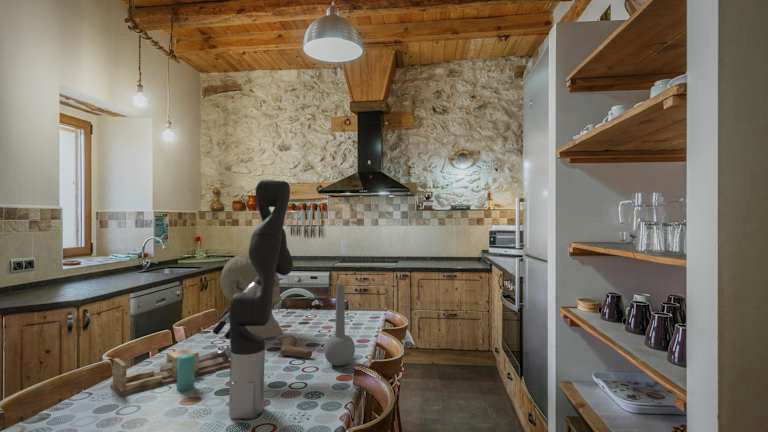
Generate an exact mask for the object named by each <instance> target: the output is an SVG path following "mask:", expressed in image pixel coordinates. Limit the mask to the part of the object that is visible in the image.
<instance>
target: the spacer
mask: <svg viewBox="0 0 768 432" xmlns="http://www.w3.org/2000/svg"><path fill="white" fill-rule="evenodd" d="M194 371H195V355H194V354H184V355H180V356H178V361H177V382H176V391H179V392H186V391H190V390H192V389H194V388H195V377H194Z"/></svg>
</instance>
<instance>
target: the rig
mask: <svg viewBox="0 0 768 432" xmlns="http://www.w3.org/2000/svg"><path fill="white" fill-rule="evenodd" d="M199 353H200V352H198V351H197V350H194V349H192V348H191V347H190V348H184V349H180V350H175V351H172V352H167V353H166V362H165V364H167V363H171V362H172V370H169V371H165V372H160V370H159V371H156V372H155V370H154V369H150V370H147V371H143V372H139V373H134V374H130V375H127V368H128V367H127V365H128V364H127V363H125V362H124V361H122V360H121V359H120V358H119V357H115V358H113V366H112V367H113V368H112V382H110V384H109V385H110V386H109V387H110V388H111V389H112V390H113V391H114V392H115V393H116V394H117V395H118V396H120V397H125V396H129V395H132V394H135V393H139V392H143V391H147V390H150V389H154V388H158V387H163V386H166V385H169V384H173V383H177V361H178V356H180V355H184V354H194V355H195V371H194V378H195V377H198V376H202V375H206V374H209V373H213V372H217V371H220V370H225V369H228V368H229V369H230V359H228V360H223V359H222V358H217V359H213V360H209V361H205V362H201V363H198V358H199V356H200V355H199Z"/></svg>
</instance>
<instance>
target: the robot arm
mask: <svg viewBox="0 0 768 432" xmlns="http://www.w3.org/2000/svg"><path fill="white" fill-rule="evenodd" d="M290 198H291V186H290V184H289V183H288V181H285V180H275V179H274V180H270V179H269V180H267V179H265V180H264V179H263V180H262V179H261V180H259V181H258V182H257V183H256V186H255V200H256V204H257V207H258V211H259V215H260V219H261V221H262V222H261V223H260V224H259V225H258V226H257V227H256V228H255V230H253V232H252V235H251V236H250V237H251V238H250V242H249V247H248V252H249V258H250V260H251V262H252V264H253V266H254V268H255V270H256V272H257V274H258V276H257V277H256V278H255V279H254V281H253V282H252V283H251V284H250V285H249V286H248V287H247V288H246V289H245V290H244V291H243V292H242V293H236V294H234V296H233V297H232V299H231V301H230V304H229V306H228V307H227V308H226V309H225V310H224V311H223V312H222V313H221V314H220V315H219V317H218V318H217V320H218V323H217V325H216V326H215V327H214V328H213V329H212V333H213V334H214V335H218V334H219V333H220V332H221V331H222V330H223V329H224V328H225V326H226V325H228V324H229V328H228V330H227V331H226V332H225V334H224V335H223V336H224V338H226V340H229V343H230V345H229V346H230V350H231V357H230V359H229V360H230V367H229V394H228V395H229V396H228V397H229V398H228V399H229V401H228V402H229V403H228V405H229V406H228V414H229V418H230V419H238V420H239V419H254V418H255V417H256V416H258V415H260V414H261V413H262V412H263V411H264V408H265V407H264V402H265V401H264V400H265V398H264V397H265V394H264V393H265V360H266V359H265V358H266V356H265V355H266V339H264V338H263V337H261V336H259V335H256V334H254V333H252V332H250V331H249V330H248V329H247V328H246V326H264V325H266V324H267V323H268V321H269V318H270V315H271V308H272V298H273V288H274V284H275V279H274V278H275V272H276V273H277V274H278V275H280V276H283V277H285V276H288V275H289V274H290V273H291V272H292V271H293V267H294V261H293V257H292V255H291V253H290V250H289V248H288V245H287V243H288V241H287V235H286V234H287V233H286V231H285V229H284V224H285V219H286V215H287V210H288V206H289V203H290ZM270 208H273V211H271V209H270Z"/></svg>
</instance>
